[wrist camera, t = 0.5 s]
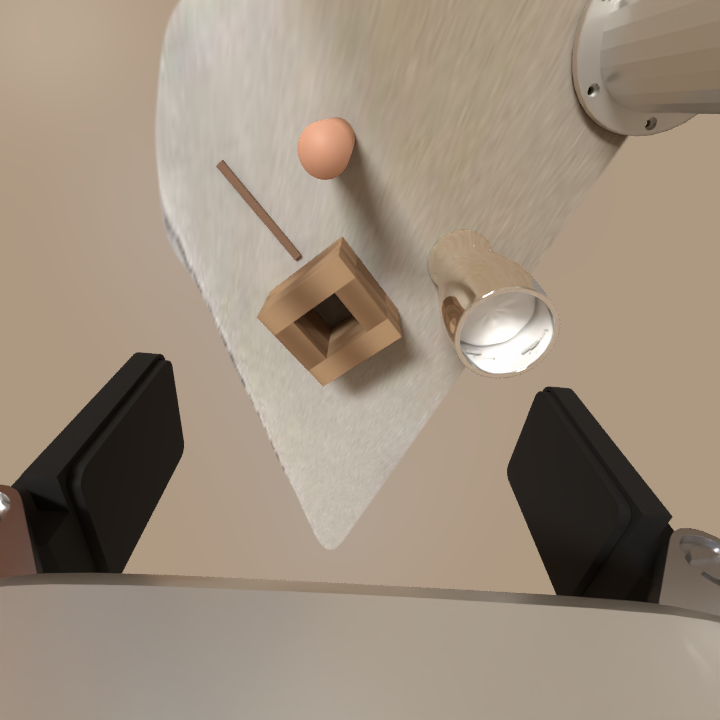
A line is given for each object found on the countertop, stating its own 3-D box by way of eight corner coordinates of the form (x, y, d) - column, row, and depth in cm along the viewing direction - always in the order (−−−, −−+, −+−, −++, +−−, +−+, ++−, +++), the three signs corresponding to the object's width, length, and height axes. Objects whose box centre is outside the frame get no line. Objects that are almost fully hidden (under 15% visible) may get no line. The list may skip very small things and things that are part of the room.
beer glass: (495, 292, 40) (556, 376, 28) (424, 299, 41) (451, 385, 28) (499, 219, 37) (571, 277, 24) (422, 228, 37) (451, 289, 24)
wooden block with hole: (342, 236, 38) (338, 256, 33) (397, 308, 41) (401, 336, 36) (270, 291, 41) (256, 317, 35) (328, 354, 44) (323, 386, 39)
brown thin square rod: (222, 160, 35) (221, 160, 34) (301, 254, 39) (300, 255, 38) (217, 165, 35) (215, 165, 34) (295, 258, 39) (295, 259, 39)
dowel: (339, 108, 33) (327, 107, 22) (362, 143, 34) (361, 157, 24) (310, 134, 33) (286, 145, 23) (333, 167, 35) (320, 190, 24)
